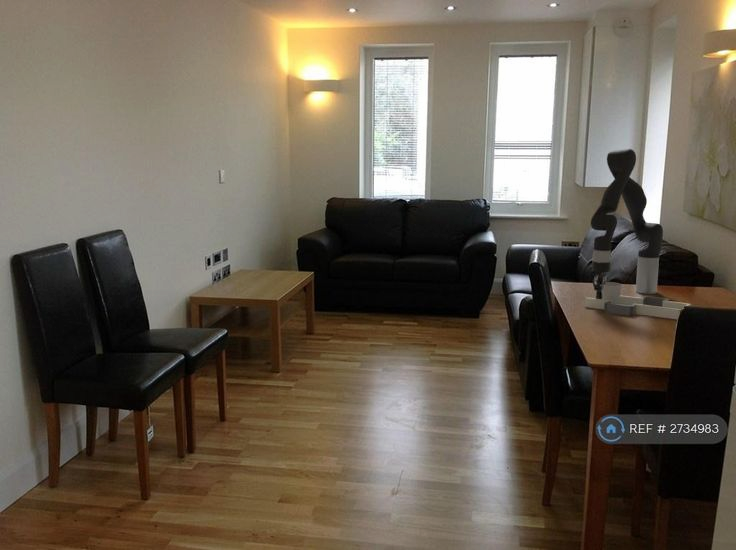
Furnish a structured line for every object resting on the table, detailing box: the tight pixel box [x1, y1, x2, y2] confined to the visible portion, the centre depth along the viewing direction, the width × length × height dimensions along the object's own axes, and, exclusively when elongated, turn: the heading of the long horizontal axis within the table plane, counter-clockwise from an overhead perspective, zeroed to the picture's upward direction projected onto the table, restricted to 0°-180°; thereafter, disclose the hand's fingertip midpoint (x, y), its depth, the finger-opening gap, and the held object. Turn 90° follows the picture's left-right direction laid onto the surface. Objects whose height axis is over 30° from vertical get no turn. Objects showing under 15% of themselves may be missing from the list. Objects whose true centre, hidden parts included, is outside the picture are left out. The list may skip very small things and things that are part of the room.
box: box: [584, 294, 692, 320], centre depth 273 cm, size 25×39×4 cm, turn 52°
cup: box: [602, 281, 622, 304], centre depth 279 cm, size 8×8×10 cm
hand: (599, 299), depth 282 cm, fingers closed
